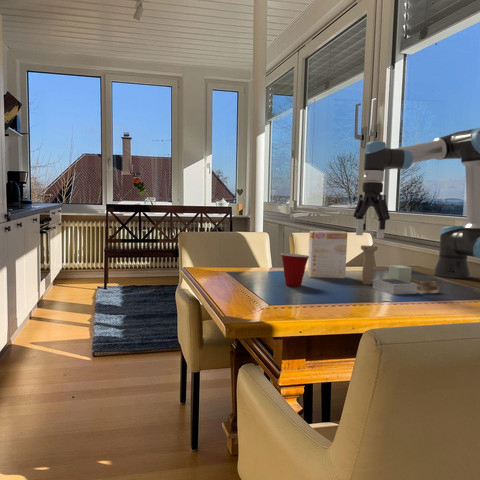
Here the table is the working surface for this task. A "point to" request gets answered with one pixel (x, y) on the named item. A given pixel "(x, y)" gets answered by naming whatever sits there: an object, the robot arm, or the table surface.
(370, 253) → the handle
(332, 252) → the coffeecake box
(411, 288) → the winch housing
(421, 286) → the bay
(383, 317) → the table surface
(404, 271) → the pale green cube
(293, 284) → the plastic cup
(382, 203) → the robot arm
